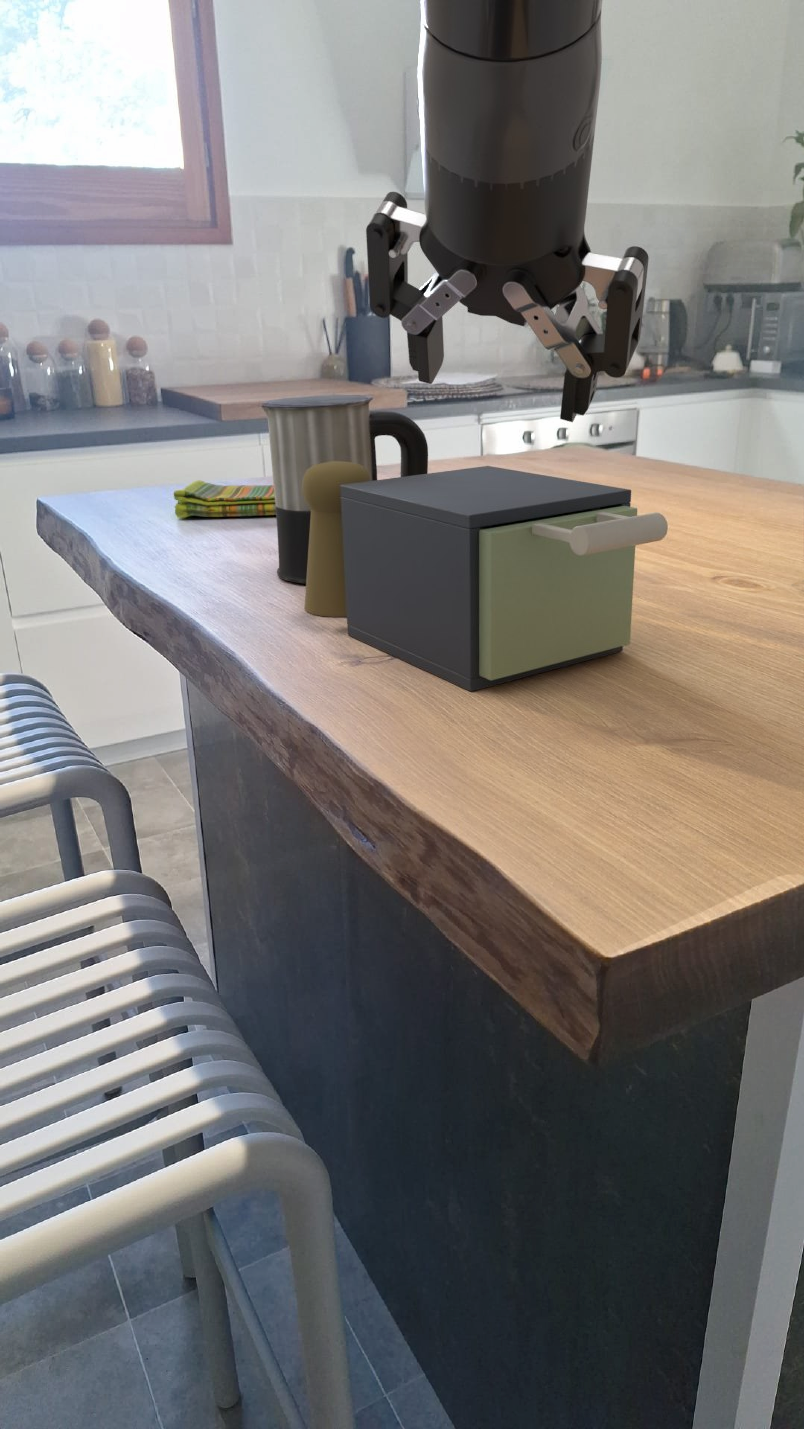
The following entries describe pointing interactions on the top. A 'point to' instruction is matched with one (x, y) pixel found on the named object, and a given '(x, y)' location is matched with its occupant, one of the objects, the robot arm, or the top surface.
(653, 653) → the top surface
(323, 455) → the milk frother
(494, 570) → the drawer
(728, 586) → the top surface
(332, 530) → the olive pawn
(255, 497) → the dish towel
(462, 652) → the cabinet
